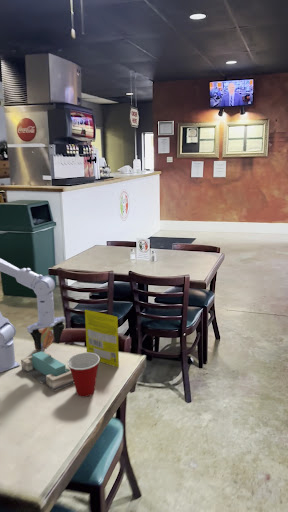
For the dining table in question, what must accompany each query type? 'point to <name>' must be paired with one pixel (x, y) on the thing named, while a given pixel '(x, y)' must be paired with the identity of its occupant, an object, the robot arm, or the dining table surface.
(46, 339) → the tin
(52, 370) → the slat
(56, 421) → the dining table surface
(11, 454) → the dining table surface
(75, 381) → the plastic cup
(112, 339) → the food package
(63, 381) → the cradle
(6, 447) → the dining table surface
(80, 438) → the dining table surface
